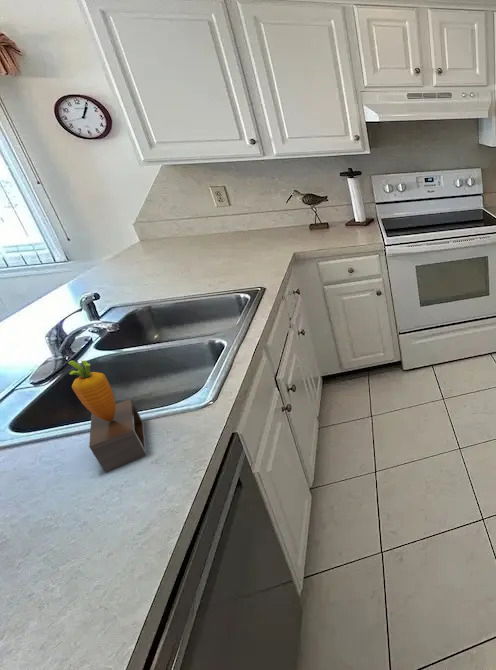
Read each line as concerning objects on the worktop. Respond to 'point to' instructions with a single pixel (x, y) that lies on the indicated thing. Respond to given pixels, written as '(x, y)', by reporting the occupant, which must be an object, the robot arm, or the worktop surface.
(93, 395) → the carrot
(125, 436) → the shelf
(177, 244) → the worktop surface
